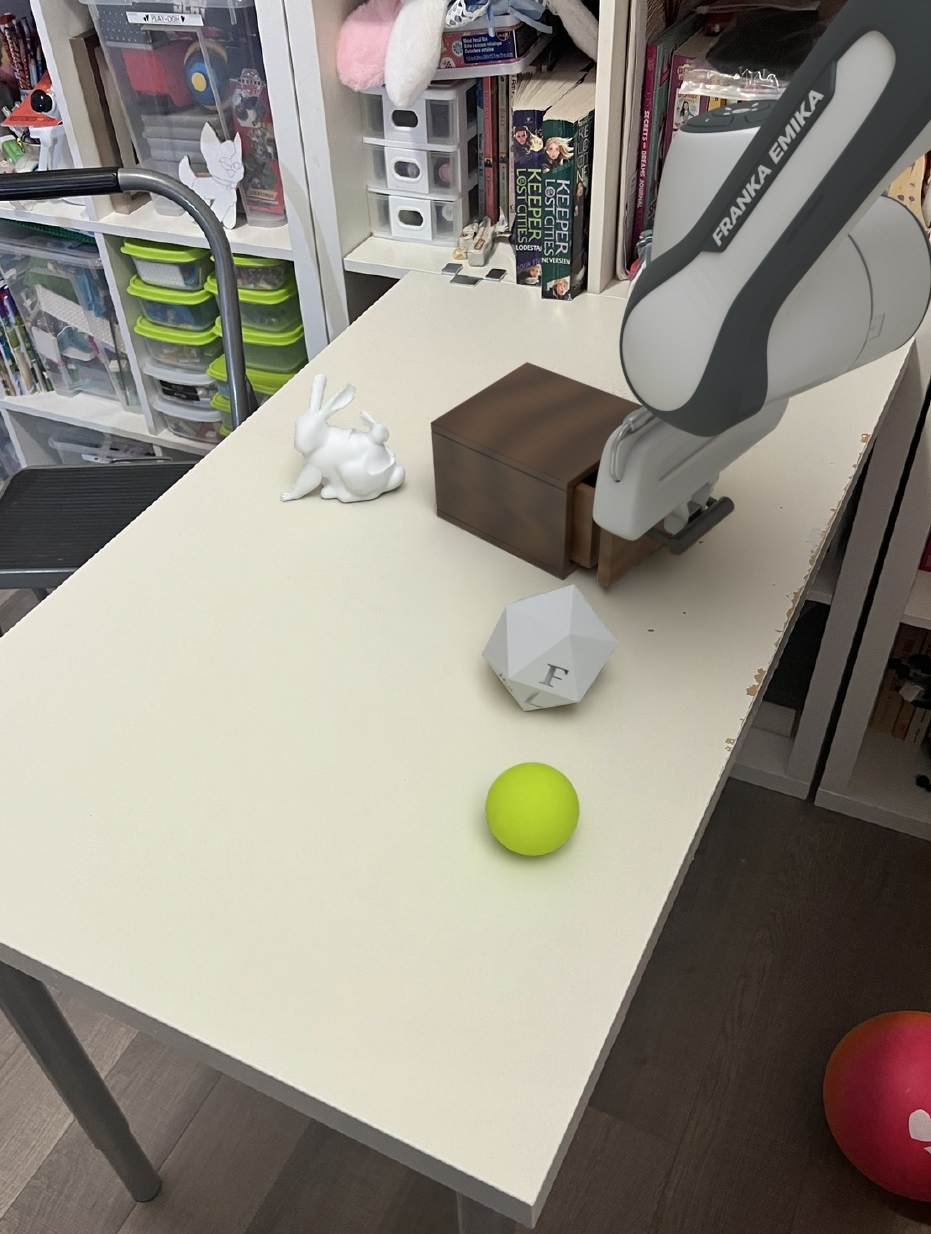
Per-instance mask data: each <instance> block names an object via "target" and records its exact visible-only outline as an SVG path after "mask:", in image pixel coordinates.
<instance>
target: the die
mask: <svg viewBox="0 0 931 1234" xmlns="http://www.w3.org/2000/svg"><path fill="white" fill-rule="evenodd" d="M618 645H619V641H617V639H616V638H615V637H614V635H613V634H612V633H611V631H610V630H609V628H608V627H607V626H606V625H605V624H604V622H603V621H602V620H601V618H600V617H599V615H598V614H597V613H596V611H595V610H594V608H593V607H592V606H591V604H589V602H588V601H587V599H586V598H585V596H584V595H583V593H581V591H580V590H579V589H578V587H577V586H576V584H570V585H567V586H562V587H559V588H555V589H552V590H549V591H545V592H541V593H538V594H534V595H531V596H527V597H524V598H523V597H522V598H520V599H518V600H515V601H513V602H511V603H508V604H506V605H505V607H504V609H503V611H502V613H501V615H500V618H499V619H498V621H497V622H496V624H495V627H494V629H493V630H492V633H491V635H490V636H489V639H488V641H487V643H486V645H485V646H484V649H483V651H482V653H481V657H483V658H484V660H485V662H487V664H488V665H489V666H490V668H491V669H492V671H493V672H494V673H495V675H496V676H497V677H498V678H499V680H500V682H502V684H503V686H504V687H505V688H506V689H507V690H508V692H509V693H510V695H511V697H512V698H513V699H514V700H515V701H516V702H517V704H518V705H519V706H520V708H521V709H522V710H523V711H524V712H528V711H534V710H539V709H545V708H552V707H559V706H565V705H571V704H577V703H580V702H581V701H582V699H583V698H584V697H585V695H586V694H587V693H588V691H589V690H590V689H591V687H592V685H593V684H594V682H595V681H596V679H597V677H599V674H600V673H601V671H602V670H603V668H604V666H605V665H606V663H607V662H608V660H609V659H610V657H611V656H612V654H613V653H614V651H615V650H616V648H617V647H618Z"/></svg>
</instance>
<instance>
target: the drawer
mask: <svg viewBox="0 0 931 1234" xmlns="http://www.w3.org/2000/svg"><path fill="white" fill-rule="evenodd" d="M598 471H599V468H598V469H597V470H595V471H594V472H593V473H591V474H590V475H589V476H587V477H586V478H584V479H583V480H582V481H580V482H579V483H578V484H576V485H575V486H574V487H572V488H573V496H572V518H571V540H570V559H571V560H573V561H575V562H577V563H579V564H581V565H582V567H584V568H587V569H591V568H592V567H594V566H595V565H596V564H597V574H596V575H597V577H596V583H597V584H600V585H602V587H603V586H604V587H605V588H607V589H610V588H611V587H612V586H613V585H614V584H616V583H617V582H618V581H620V579H622V578H623V577H624V576H625V575H626V574H627V573H629V572H630V571H631V570H633V569H634V568H635V567H636V566H637V565H639V564H640V563H641V562H643V560H645V559H646V558H647V557H648V556H650V555H651V554H652V553H653V552H655V551H656V550H657V549H658V548H660V547H661V546H662V545H663V544H665V545H666V547H667V550H668V551H669V552H670V553H671V554H672V555H673V556H677V557H678V556H682V555H683V554H685V552H687V551H688V550H689V549H690V548H692V547H693V546H694V545H695V544H696V543H697V542H699V541H700V540H701V539H702V538H704V537H705V536H706V535H707V534H708V533H709V532H710V531H712V530H713V529H714V528H715V527H716V526H718V525H719V524H720V523H721V522H722V521H724V520H725V519H726V518H727V517H728V516H729V515H731V514H732V513H733V512H735V511H734V510H735V502H734V501H733V500H732V499H731V498H730V497H729V496H720V497H718V499H717V498H715V497H713V496H710V497H709V499H708V501H707V502H706V508H705V510H704V511H703V512H702V513H701V514H700V515H698V516H697V517H696V518H695V519H693V520H692V521H691V522H690V523H689V524H687V525H686V526H685V527H684V528H682V529H681V530H680V531H679V532H678V533H676V534H675V535H674V534H672V533H670V532H668V531H666V529H665V528H664V519H665V517H664V518H663V519H662V520H660V521H659V522H658V523H657V524H655V525H654V526H653V527H652V528H650V529H649V530H648V531H647V532H645V533H644V534H643V535H642V536H641V537H639V538H638V539H636V540H627V539H625V538H622V537H620V536H617V535H615V534H613V533H611V532H609V531H607V530H605V529H603V528H601V527H600V526H599V525H598V524H597V523H596V522H595V521H594V519H593V504H594V496H595V489H596V483H597V477H598Z"/></svg>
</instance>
